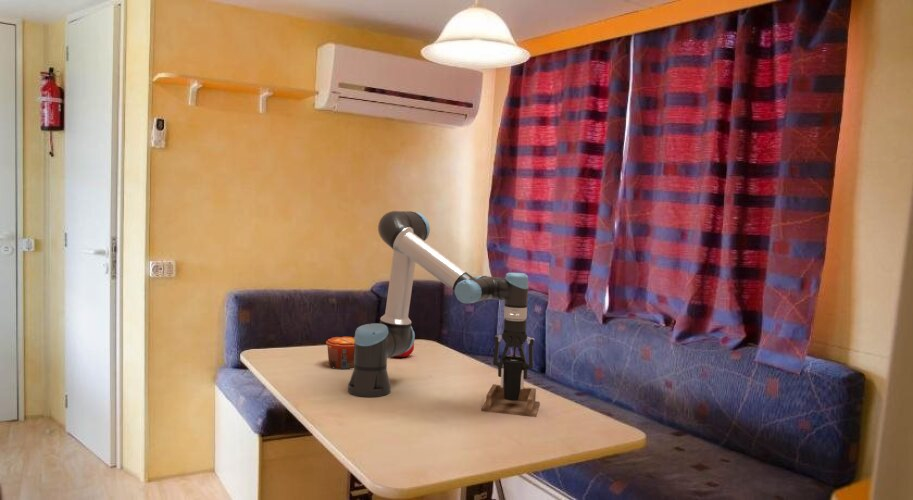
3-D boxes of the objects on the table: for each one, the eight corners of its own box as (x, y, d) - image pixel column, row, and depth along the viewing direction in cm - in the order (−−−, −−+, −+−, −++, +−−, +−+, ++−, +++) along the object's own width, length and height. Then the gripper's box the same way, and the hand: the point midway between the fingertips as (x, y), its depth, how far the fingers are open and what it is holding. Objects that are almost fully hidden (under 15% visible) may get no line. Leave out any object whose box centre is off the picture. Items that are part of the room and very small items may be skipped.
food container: (372, 365, 270) (373, 339, 269) (346, 372, 256) (347, 345, 256) (343, 359, 278) (344, 334, 278) (316, 366, 265) (317, 340, 264)
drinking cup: (521, 403, 214) (525, 343, 213) (498, 400, 216) (502, 340, 215) (524, 396, 222) (527, 339, 220) (502, 394, 223) (505, 336, 222)
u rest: (481, 410, 214) (481, 394, 214) (488, 399, 228) (488, 383, 227) (535, 416, 210) (536, 400, 210) (539, 404, 224) (540, 388, 224)
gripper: (485, 318, 216) (482, 387, 217) (542, 323, 212) (539, 393, 213) (489, 315, 223) (486, 381, 224) (544, 319, 219) (541, 387, 220)
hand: (512, 387), depth 219 cm, fingers closed on drinking cup, 6 cm apart
